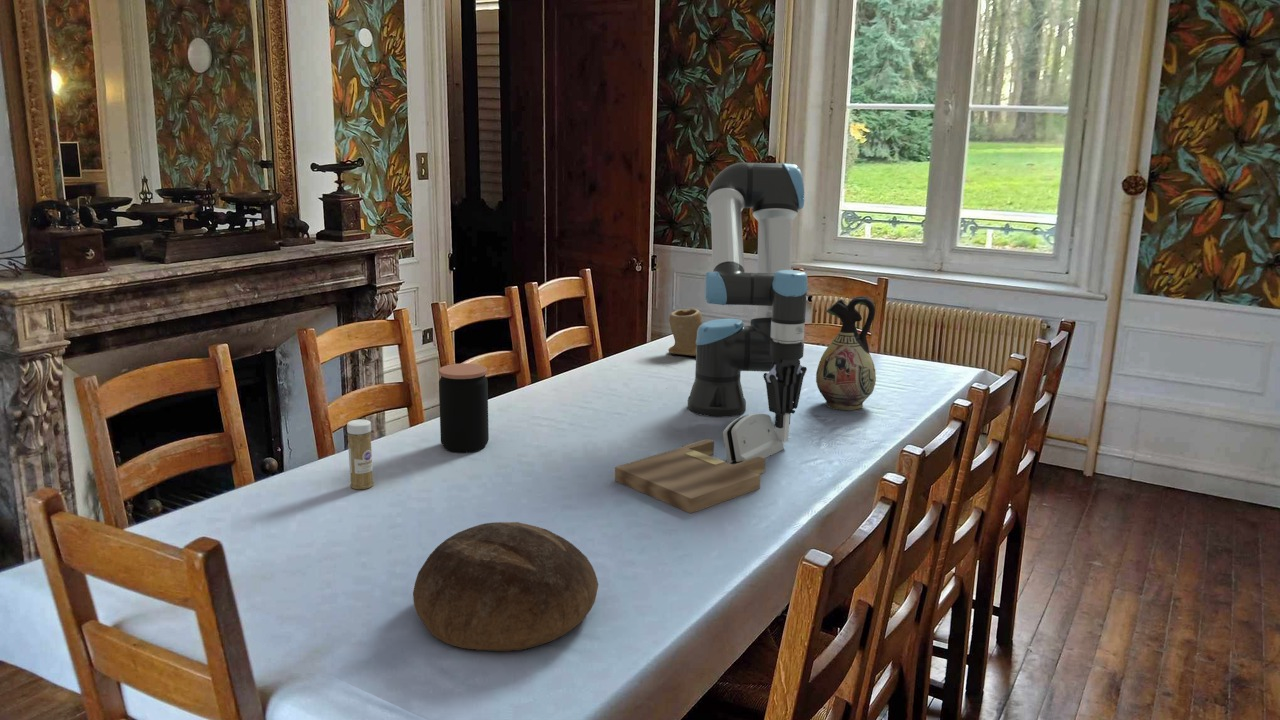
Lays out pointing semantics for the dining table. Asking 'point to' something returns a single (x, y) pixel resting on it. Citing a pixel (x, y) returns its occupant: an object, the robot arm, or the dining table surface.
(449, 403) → the coffee jar
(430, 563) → the bread
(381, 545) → the dining table surface
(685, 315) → the stone cup
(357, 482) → the sprinkles bottle
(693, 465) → the brown flat wooden slab
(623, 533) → the dining table surface
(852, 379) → the ceramic jug
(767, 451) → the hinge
